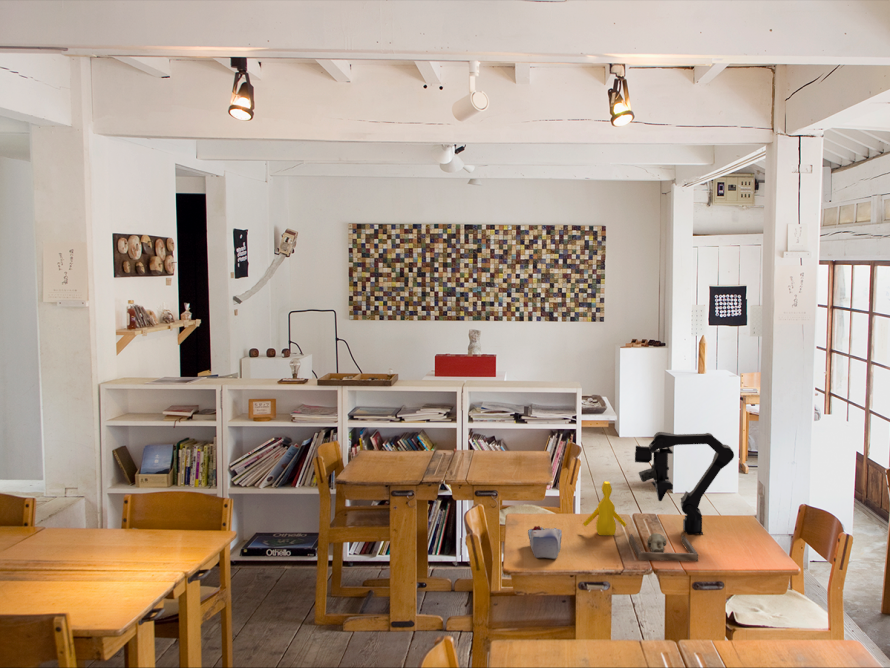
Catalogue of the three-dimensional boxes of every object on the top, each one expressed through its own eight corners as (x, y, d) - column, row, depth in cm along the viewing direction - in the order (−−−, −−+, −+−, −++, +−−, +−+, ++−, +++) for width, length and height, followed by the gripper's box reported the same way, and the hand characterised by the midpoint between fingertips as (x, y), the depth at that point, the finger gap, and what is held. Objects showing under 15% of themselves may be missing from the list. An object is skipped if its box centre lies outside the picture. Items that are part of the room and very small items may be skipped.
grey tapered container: (530, 532, 273) (527, 516, 293) (530, 561, 274) (527, 543, 293) (566, 532, 272) (560, 516, 292) (566, 561, 273) (560, 543, 293)
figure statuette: (625, 531, 306) (626, 478, 305) (629, 537, 298) (630, 483, 297) (581, 530, 307) (582, 478, 305) (584, 537, 299) (585, 483, 298)
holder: (684, 541, 294) (684, 535, 293) (698, 561, 273) (698, 554, 273) (629, 540, 295) (629, 534, 295) (638, 559, 275) (638, 553, 274)
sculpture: (669, 560, 277) (665, 543, 291) (669, 548, 276) (665, 531, 291) (649, 560, 278) (646, 543, 292) (649, 547, 277) (646, 531, 292)
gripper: (636, 457, 316) (635, 494, 317) (644, 468, 297) (644, 507, 298) (663, 458, 315) (662, 494, 316) (673, 469, 297) (672, 507, 298)
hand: (659, 500), depth 307 cm, fingers closed
